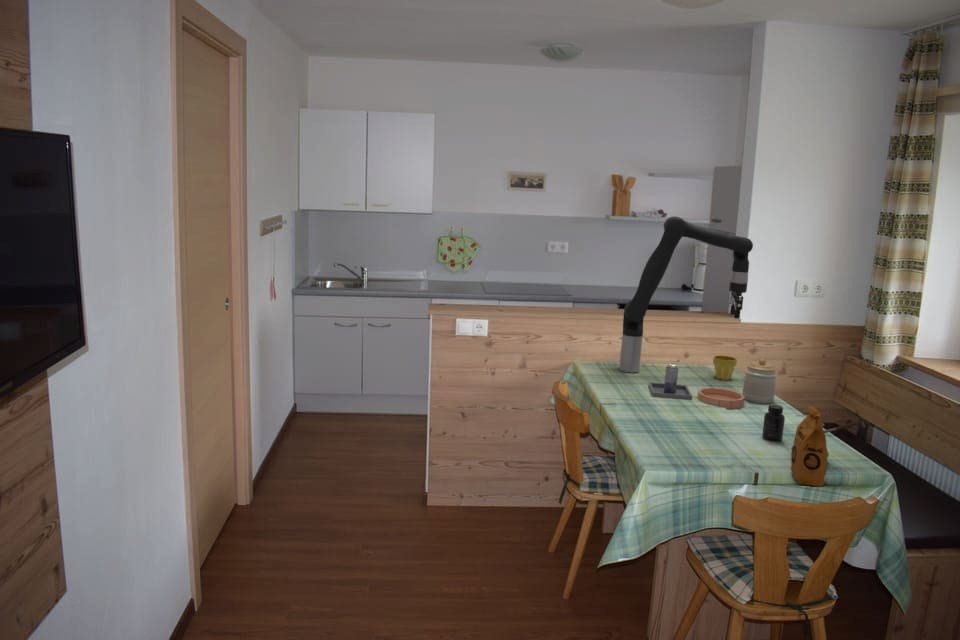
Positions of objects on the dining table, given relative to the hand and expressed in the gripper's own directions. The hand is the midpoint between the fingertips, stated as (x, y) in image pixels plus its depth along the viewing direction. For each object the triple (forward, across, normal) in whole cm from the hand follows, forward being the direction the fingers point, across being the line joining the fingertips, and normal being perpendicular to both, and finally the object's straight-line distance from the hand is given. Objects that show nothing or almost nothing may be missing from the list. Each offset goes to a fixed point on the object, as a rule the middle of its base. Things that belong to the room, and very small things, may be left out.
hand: (734, 316), depth 347 cm
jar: (+30, +32, +6) cm, 44 cm away
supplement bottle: (+30, +83, -1) cm, 88 cm away
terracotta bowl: (+29, +41, -11) cm, 52 cm away
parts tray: (+29, +36, -31) cm, 56 cm away
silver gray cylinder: (+28, +36, -31) cm, 55 cm away
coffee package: (+30, +120, 0) cm, 124 cm away
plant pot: (+30, 0, -2) cm, 30 cm away
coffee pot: (+30, +102, +11) cm, 107 cm away
